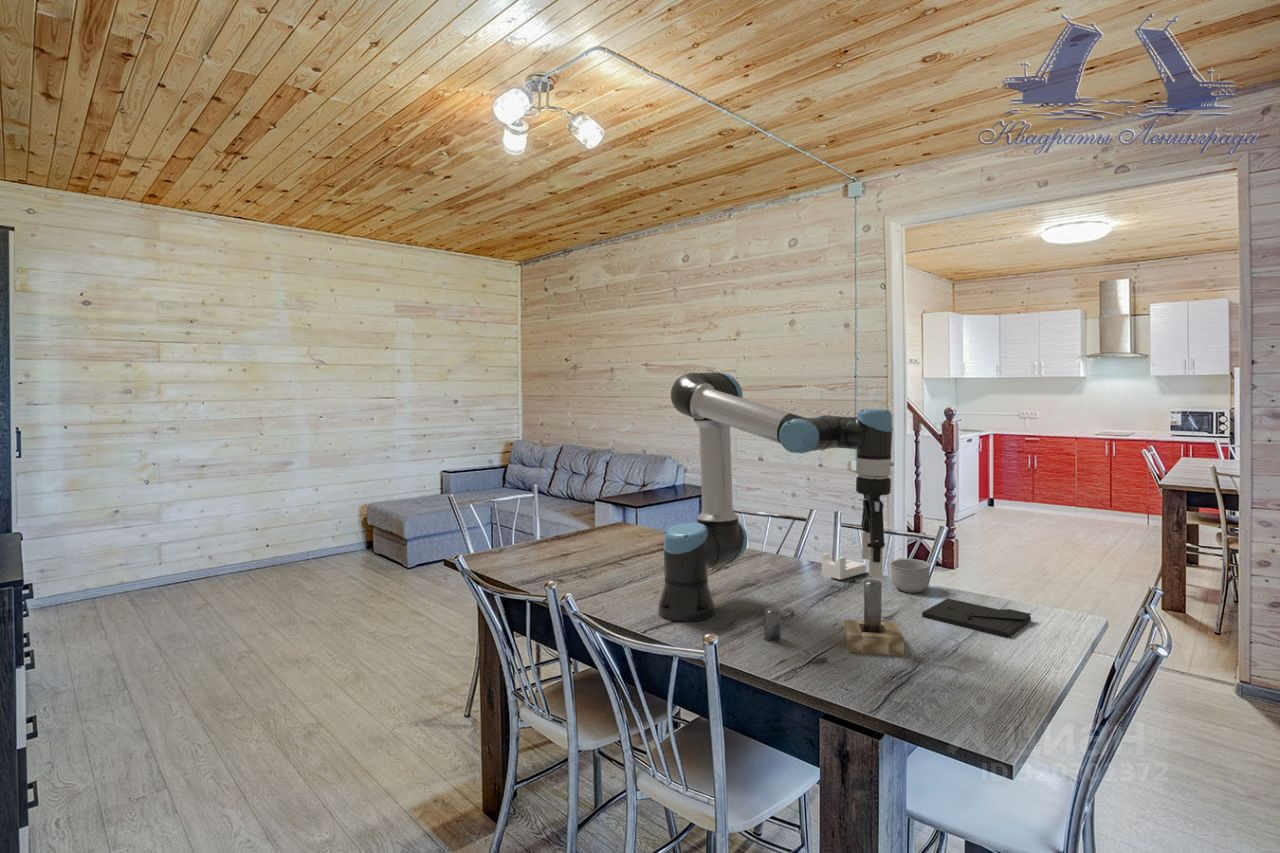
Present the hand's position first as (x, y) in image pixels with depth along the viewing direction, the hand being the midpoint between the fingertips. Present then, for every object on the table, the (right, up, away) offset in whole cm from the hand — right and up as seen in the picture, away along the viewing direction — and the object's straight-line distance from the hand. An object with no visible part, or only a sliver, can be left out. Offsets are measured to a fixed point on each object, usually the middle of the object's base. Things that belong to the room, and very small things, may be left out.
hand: (871, 567), depth 153 cm
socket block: (+1, -18, +1) cm, 18 cm away
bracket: (+11, -15, +57) cm, 60 cm away
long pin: (+1, -18, +1) cm, 18 cm away
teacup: (+26, -16, +43) cm, 53 cm away
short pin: (-22, -19, +6) cm, 29 cm away
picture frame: (+33, -18, +17) cm, 41 cm away
